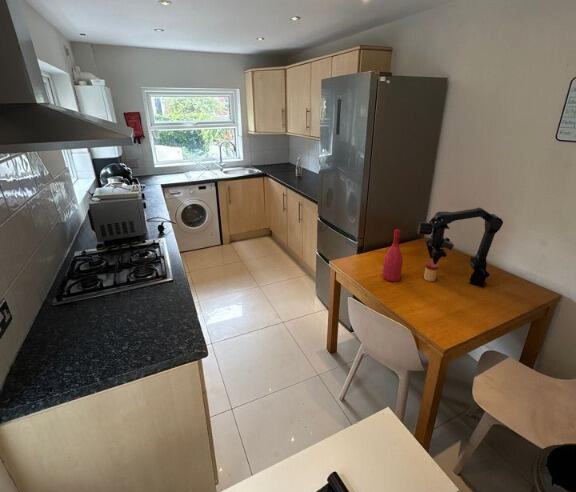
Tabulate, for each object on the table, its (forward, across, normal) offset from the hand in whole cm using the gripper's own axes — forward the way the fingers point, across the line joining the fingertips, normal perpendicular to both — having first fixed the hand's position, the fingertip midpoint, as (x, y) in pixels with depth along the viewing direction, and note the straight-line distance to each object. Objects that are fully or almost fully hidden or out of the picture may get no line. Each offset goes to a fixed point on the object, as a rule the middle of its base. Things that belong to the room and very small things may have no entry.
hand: (433, 261), depth 168 cm
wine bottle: (+11, -4, +22) cm, 25 cm away
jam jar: (+11, 0, 0) cm, 11 cm away
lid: (+2, 0, 0) cm, 3 cm away
